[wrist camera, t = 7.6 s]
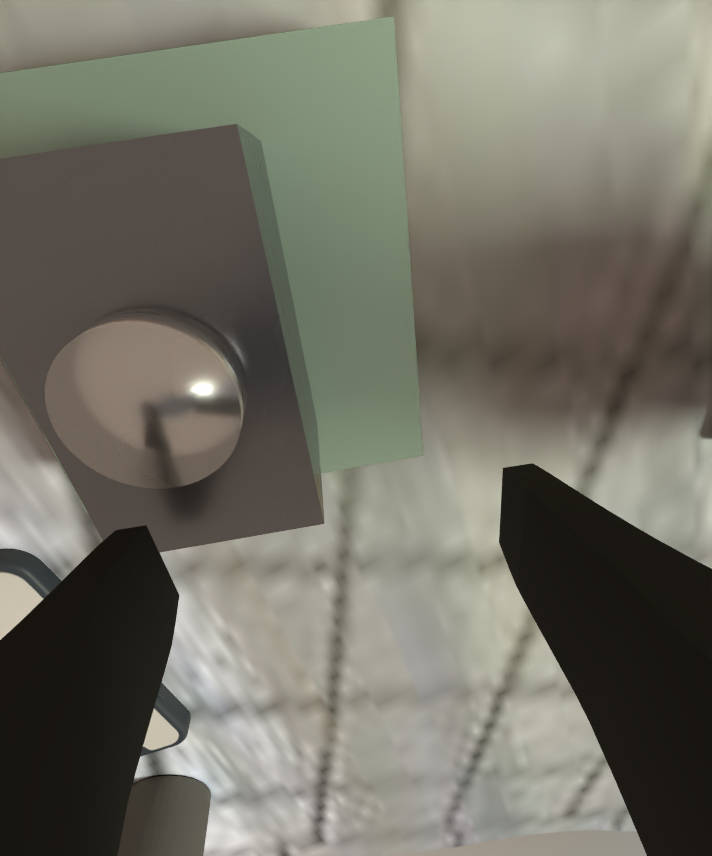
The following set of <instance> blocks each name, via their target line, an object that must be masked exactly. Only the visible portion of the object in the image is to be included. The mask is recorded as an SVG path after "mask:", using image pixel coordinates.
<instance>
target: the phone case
mask: <svg viewBox="0 0 712 856" xmlns="http://www.w3.org/2000/svg"><path fill="white" fill-rule="evenodd" d="M61 582H62V581H61V580H60V579H59V578H58V577H57V576H56V575H55V574H54V573H53V572H52V571H51V570H50V569H49V568H48V567H47V566H46V565H45V564H44V563H43V562H42V561H41V560H40V559H38V558H37V557H35V556H34V555H32V554H30V553H28V552H25V551H21V550H17V549H0V640H1V639H2V638H3V637H4V636H5V635H6V634H7V633H8V632H10V631H11V630H12V629H13V628H14V627H15V626H16V625H17V624H18V623H19V622H20V621H21V620H22V619H24V618H25V617H26V616H27V615H28V614H29V613H30V612H31V611H32V610H33V609H34V608H35V607H36V606H37V605H38V604H39V603H40V602H41V601H42V600H43V599H44V598H45V597H46V596H47V595H48V594H49V593H50V592H51V591H52V590H53V589H54V588H55V587H56V586H58V585H59V584H60V583H61ZM189 724H190V713H189V711H188V710H187V709H186V707H185V706H184V705H183V704H182V703H181V702H180V701H179V700H178V699H177V698H176V697H175V696H174V695H173V694H172V693H171V692H170V691H169V690H168V689H167V688H166V687H165V686H164V685H163V684H162V683H161V686H160V689H159V693H158V696H157V699H156V703H155V706H154V710H153V713H152V717H151V720H150V724H149V727H148V731H147V734H146V738H145V741H144V744H143V748H142V751H141V755H140V756H143V755H147V754H150V753H153V752H156V751H160V750H163V749H166V748H169V747H173V746H175V745H178V744H180V743H181V742H182V741H184V739H185V738H186V736H187V733H188V729H189Z"/></svg>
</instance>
